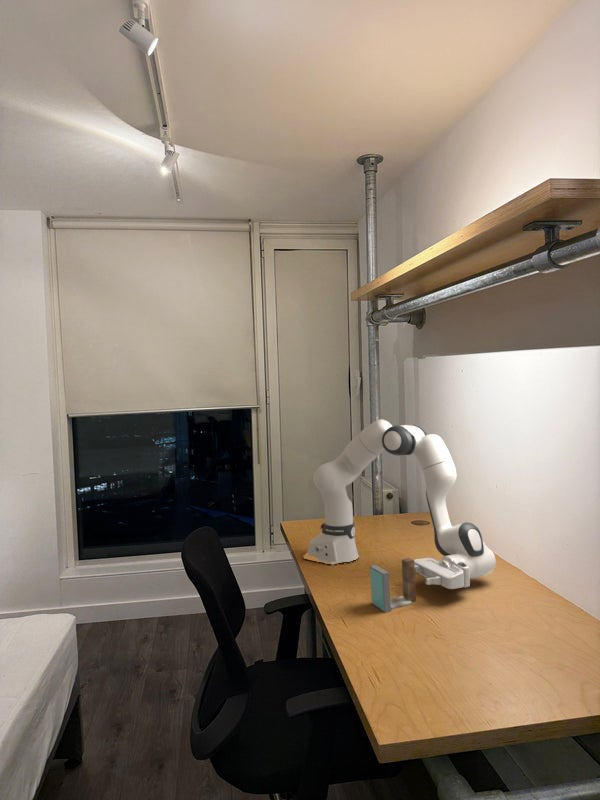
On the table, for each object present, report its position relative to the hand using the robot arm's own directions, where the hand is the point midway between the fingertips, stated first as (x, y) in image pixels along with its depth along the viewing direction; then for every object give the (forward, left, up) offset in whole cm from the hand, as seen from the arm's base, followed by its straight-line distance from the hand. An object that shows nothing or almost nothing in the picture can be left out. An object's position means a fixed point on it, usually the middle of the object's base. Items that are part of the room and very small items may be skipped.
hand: (416, 576), depth 180 cm
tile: (-8, -11, -7) cm, 15 cm away
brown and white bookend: (-4, -5, -7) cm, 10 cm away
